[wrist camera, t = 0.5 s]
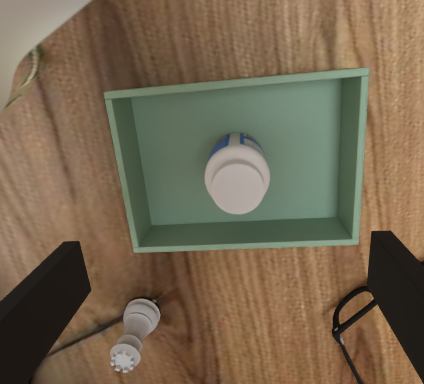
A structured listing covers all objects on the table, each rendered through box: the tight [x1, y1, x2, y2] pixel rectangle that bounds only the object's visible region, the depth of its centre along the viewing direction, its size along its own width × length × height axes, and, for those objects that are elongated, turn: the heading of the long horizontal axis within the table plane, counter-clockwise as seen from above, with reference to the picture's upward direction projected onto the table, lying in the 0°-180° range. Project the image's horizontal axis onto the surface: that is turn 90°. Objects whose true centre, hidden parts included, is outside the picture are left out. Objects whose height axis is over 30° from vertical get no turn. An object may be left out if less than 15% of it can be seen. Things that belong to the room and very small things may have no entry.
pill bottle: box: [205, 133, 270, 214], centre depth 29 cm, size 6×5×10 cm
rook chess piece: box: [110, 299, 160, 373], centre depth 38 cm, size 4×4×8 cm
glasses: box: [332, 262, 424, 384], centre depth 37 cm, size 17×18×5 cm
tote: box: [104, 67, 370, 253], centre depth 31 cm, size 15×21×6 cm
